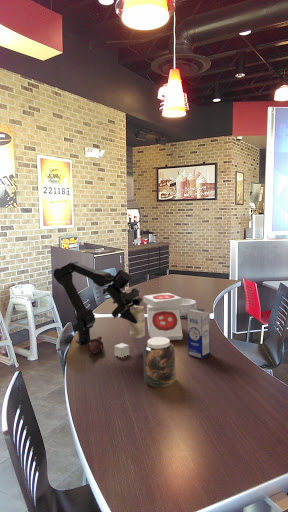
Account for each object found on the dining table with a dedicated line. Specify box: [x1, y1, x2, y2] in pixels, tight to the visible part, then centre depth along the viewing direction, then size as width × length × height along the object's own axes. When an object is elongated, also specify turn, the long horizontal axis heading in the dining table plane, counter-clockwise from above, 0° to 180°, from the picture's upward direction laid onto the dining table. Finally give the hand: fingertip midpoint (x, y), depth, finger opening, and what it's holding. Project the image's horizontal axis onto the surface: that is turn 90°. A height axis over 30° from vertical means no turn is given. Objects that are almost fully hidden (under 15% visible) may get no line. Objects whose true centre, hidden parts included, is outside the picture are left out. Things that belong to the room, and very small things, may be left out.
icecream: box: [87, 336, 105, 355], centre depth 165 cm, size 7×7×15 cm
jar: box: [142, 337, 177, 389], centre depth 135 cm, size 12×12×15 cm
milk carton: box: [186, 308, 211, 359], centre depth 158 cm, size 7×7×20 cm
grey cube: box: [114, 342, 130, 359], centre depth 161 cm, size 4×4×4 cm
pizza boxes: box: [142, 292, 184, 341], centre depth 186 cm, size 19×30×18 cm, turn 3°
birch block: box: [128, 305, 146, 339], centre depth 165 cm, size 5×5×13 cm
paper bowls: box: [178, 298, 198, 317], centre depth 223 cm, size 15×15×8 cm
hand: (139, 321), depth 164 cm, fingers closed on birch block, 5 cm apart
